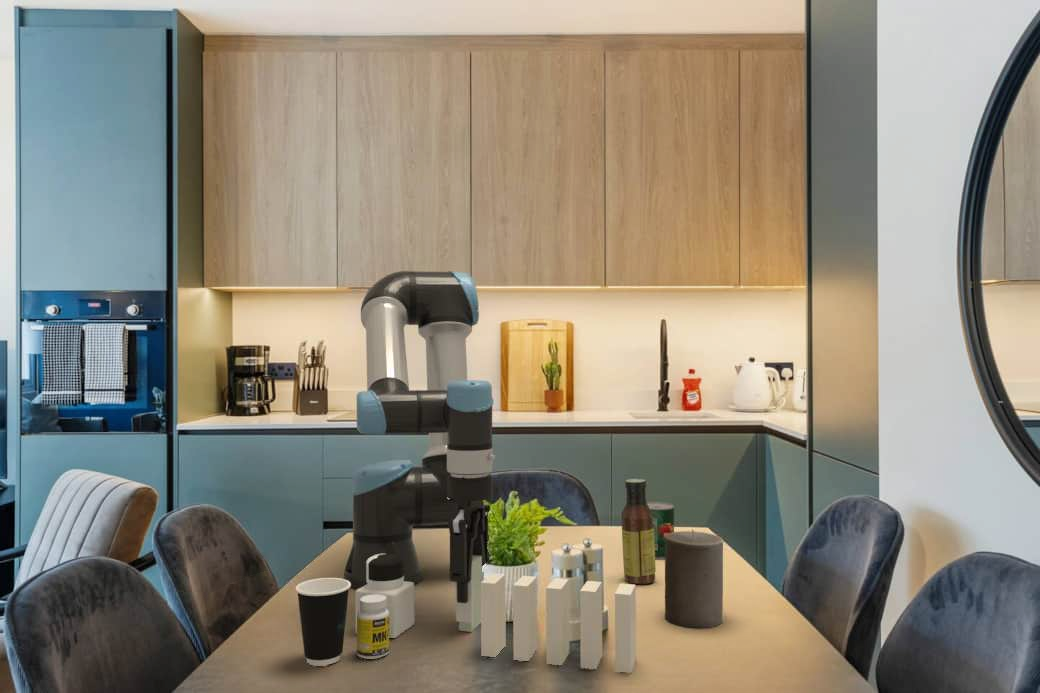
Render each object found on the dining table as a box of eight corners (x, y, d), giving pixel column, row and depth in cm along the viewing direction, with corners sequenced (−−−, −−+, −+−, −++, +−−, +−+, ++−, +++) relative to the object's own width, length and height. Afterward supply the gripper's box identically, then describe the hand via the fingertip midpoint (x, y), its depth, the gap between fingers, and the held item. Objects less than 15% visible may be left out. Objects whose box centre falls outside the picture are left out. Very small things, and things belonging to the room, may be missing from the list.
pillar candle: (659, 624, 128) (660, 533, 128) (669, 605, 137) (669, 521, 137) (720, 632, 124) (720, 538, 124) (726, 612, 134) (726, 525, 134)
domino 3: (546, 664, 112) (546, 587, 112) (555, 651, 116) (554, 578, 117) (561, 665, 111) (560, 589, 111) (569, 653, 116) (568, 579, 116)
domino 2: (513, 660, 113) (513, 585, 113) (523, 648, 118) (522, 575, 118) (528, 662, 112) (527, 586, 113) (537, 649, 117) (536, 576, 117)
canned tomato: (638, 549, 177) (637, 501, 177) (673, 550, 176) (673, 502, 176) (638, 559, 169) (638, 508, 169) (675, 560, 168) (675, 509, 168)
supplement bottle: (374, 663, 112) (373, 605, 113) (350, 656, 115) (350, 599, 115) (396, 652, 117) (395, 596, 117) (372, 646, 119) (372, 591, 119)
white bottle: (415, 624, 128) (414, 552, 129) (394, 639, 122) (394, 563, 122) (377, 620, 131) (376, 549, 131) (354, 634, 124) (354, 559, 124)
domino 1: (481, 656, 115) (480, 582, 115) (492, 644, 119) (491, 573, 119) (495, 658, 114) (494, 583, 114) (505, 646, 119) (505, 574, 119)
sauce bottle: (654, 576, 155) (653, 477, 155) (656, 586, 149) (656, 482, 149) (621, 576, 156) (620, 477, 156) (622, 585, 150) (621, 482, 150)
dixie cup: (359, 662, 113) (359, 586, 113) (306, 675, 108) (306, 597, 108) (339, 646, 119) (338, 574, 119) (288, 657, 115) (287, 583, 115)
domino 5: (615, 672, 109) (614, 593, 109) (621, 658, 114) (620, 583, 114) (631, 673, 108) (630, 594, 108) (636, 660, 113) (635, 584, 113)
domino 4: (580, 668, 110) (580, 590, 110) (587, 655, 115) (587, 580, 115) (595, 669, 110) (595, 592, 110) (602, 656, 114) (601, 582, 115)
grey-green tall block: (459, 630, 125) (458, 562, 125) (469, 620, 130) (469, 554, 130) (471, 631, 125) (471, 563, 125) (482, 621, 129) (481, 555, 130)
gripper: (472, 484, 118) (473, 637, 118) (508, 467, 135) (508, 600, 135) (427, 481, 120) (427, 632, 120) (467, 465, 137) (468, 596, 137)
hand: (470, 615), depth 127 cm, fingers closed on grey-green tall block, 5 cm apart
